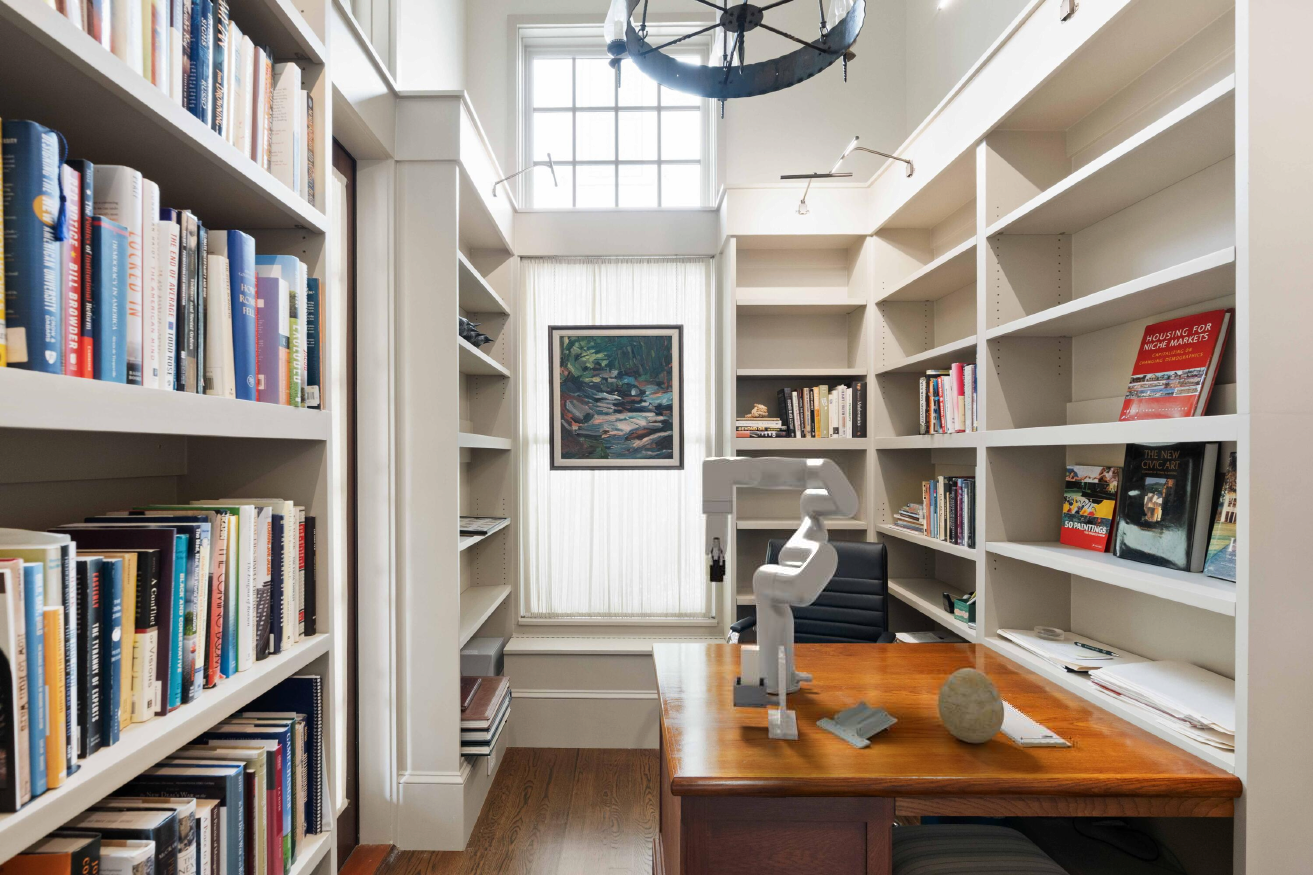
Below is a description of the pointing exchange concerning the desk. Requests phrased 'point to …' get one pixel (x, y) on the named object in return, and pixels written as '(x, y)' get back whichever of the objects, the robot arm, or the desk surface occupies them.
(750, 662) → the cream rectangular beam
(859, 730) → the metal bracket
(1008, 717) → the baseboard
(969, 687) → the fossilized egg
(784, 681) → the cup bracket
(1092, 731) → the desk surface
